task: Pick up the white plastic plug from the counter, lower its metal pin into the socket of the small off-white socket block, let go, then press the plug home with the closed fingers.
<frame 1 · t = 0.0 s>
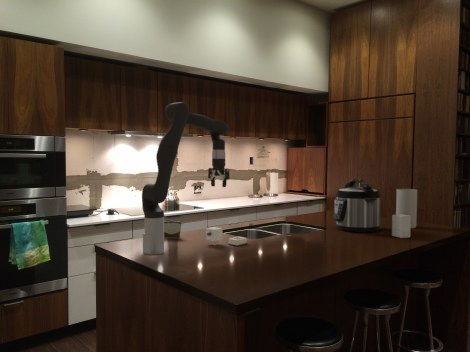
hand: (218, 186, 220), 29 cm above the counter, tool pointing down, fingers open, 8 cm apart
cylinder vase: (405, 227, 260), on the counter
food container: (172, 237, 224), on the counter
supplement box: (401, 236, 228), on the counter
socket block: (237, 243, 206), on the counter
plug: (214, 244, 205), on the counter
pressure cooker: (356, 229, 250), on the counter
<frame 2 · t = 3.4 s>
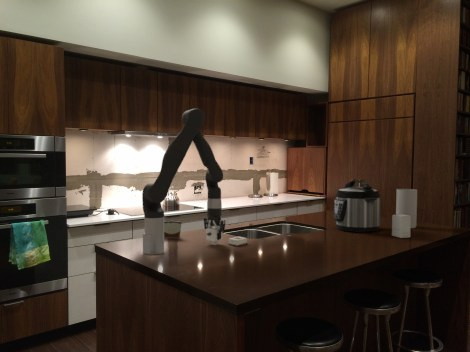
hand: (214, 238, 205), 3 cm above the counter, tool pointing down, fingers closed on plug, 6 cm apart
plug: (214, 244, 205), on the counter, touching gripper
everything else where it was.
when the fingers open (5 cm above the counter, at t = 8.6 s): plug drops 1 cm, resting on socket block.
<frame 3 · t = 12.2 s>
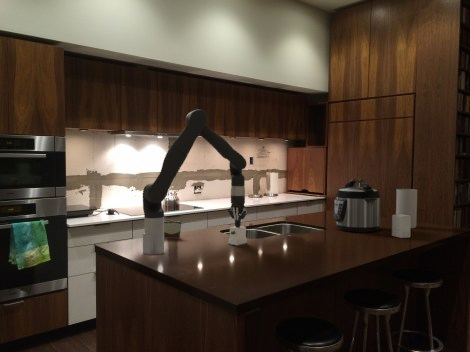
hand: (237, 227, 206), 9 cm above the counter, tool pointing down, fingers closed
plug: (237, 243, 206), resting on socket block, touching gripper
everything else where it was.
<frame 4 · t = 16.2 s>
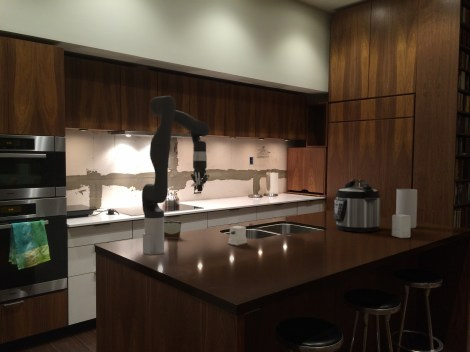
hand: (199, 191, 215), 27 cm above the counter, tool pointing down, fingers closed
plug: (237, 243, 206), resting on socket block
everything else where it was.
at the end: plug 0.1 cm off-centre on the socket block, point 0.5 cm above the socket block's base; plug tilted 0°; the gripper is holding nothing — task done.
